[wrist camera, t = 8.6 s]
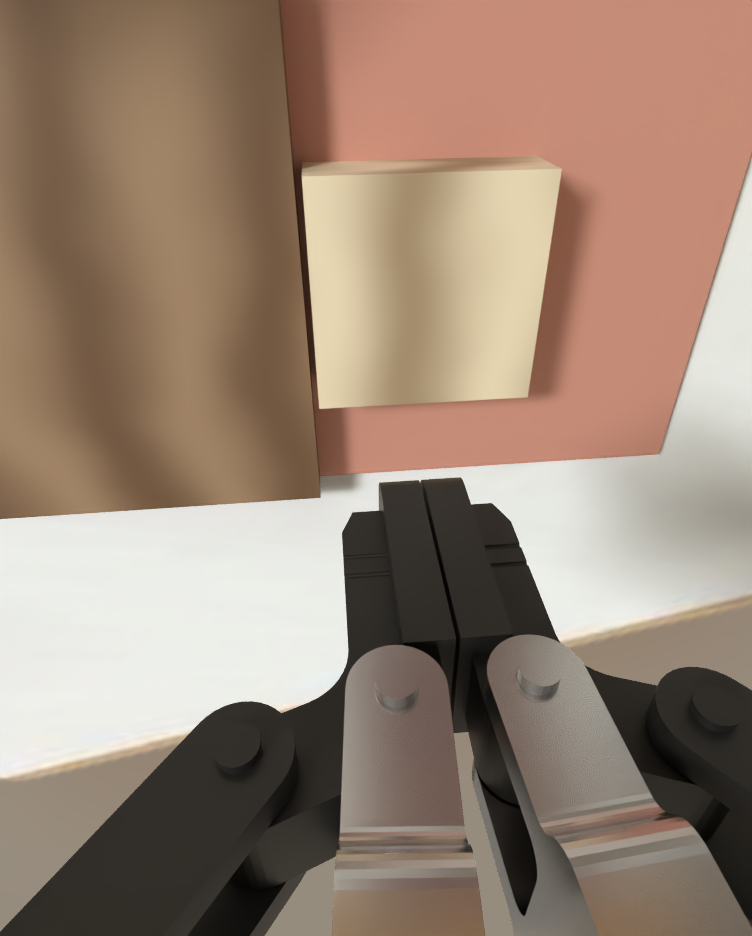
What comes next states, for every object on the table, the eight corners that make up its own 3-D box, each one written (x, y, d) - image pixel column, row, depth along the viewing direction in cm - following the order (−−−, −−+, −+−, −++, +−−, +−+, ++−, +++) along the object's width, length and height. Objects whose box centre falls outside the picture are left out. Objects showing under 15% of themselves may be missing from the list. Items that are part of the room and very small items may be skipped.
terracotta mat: (802, -39, 19) (810, -40, 18) (655, 449, 29) (658, 454, 29) (277, -34, 18) (277, -35, 17) (319, 470, 28) (320, 476, 28)
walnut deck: (277, -34, 18) (274, -41, 16) (319, 470, 28) (320, 497, 26) (-235, -28, 17) (-293, -35, 15) (5, 491, 27) (-14, 519, 26)
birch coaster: (537, 155, 21) (561, 168, 19) (510, 368, 25) (527, 397, 23) (302, 162, 20) (301, 176, 18) (318, 378, 25) (319, 408, 23)
